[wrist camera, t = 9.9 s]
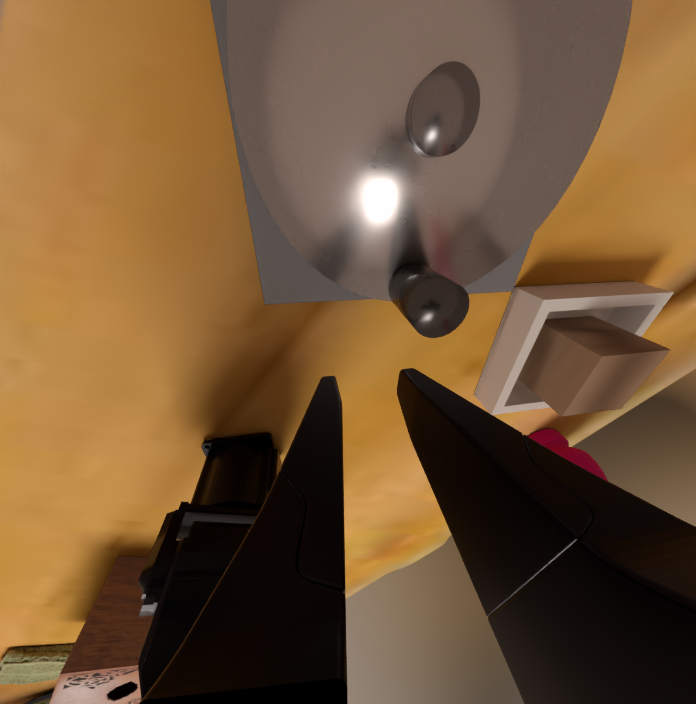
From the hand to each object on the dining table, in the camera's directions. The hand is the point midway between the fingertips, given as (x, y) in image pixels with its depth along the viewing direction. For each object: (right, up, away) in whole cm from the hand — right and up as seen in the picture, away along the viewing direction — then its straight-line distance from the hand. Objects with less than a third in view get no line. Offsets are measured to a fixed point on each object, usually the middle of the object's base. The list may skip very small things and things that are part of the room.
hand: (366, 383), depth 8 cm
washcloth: (-55, -57, +41) cm, 89 cm away
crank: (+3, +13, +5) cm, 14 cm away
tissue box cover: (-32, -38, +33) cm, 60 cm away
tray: (+19, +2, +17) cm, 26 cm away
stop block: (+19, +2, +17) cm, 25 cm away
